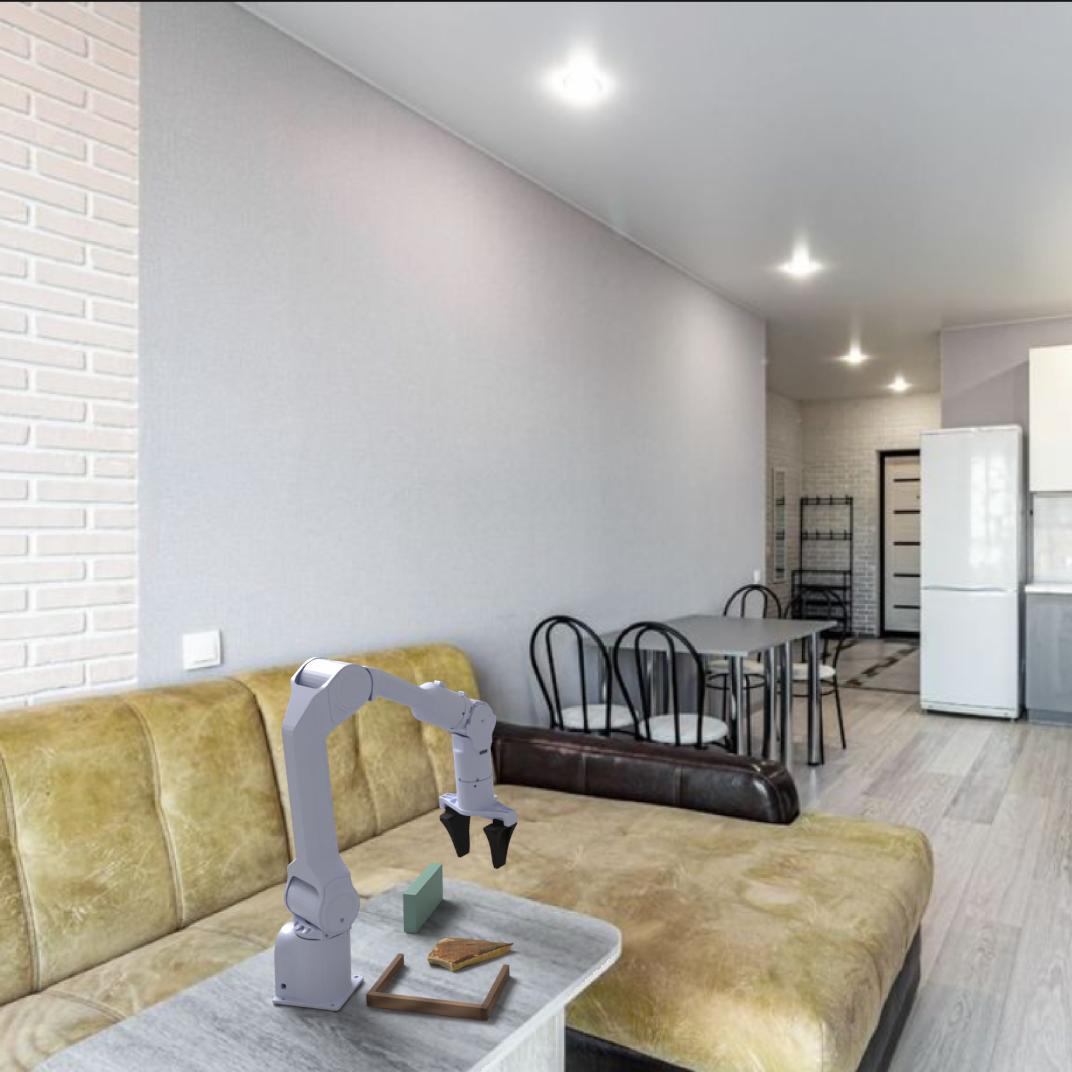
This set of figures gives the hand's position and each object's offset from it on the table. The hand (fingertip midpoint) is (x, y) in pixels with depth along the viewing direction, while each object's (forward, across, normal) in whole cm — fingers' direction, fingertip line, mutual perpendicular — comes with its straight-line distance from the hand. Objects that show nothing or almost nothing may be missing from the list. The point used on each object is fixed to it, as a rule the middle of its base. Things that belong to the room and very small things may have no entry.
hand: (481, 860), depth 137 cm
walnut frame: (+8, -9, +19) cm, 22 cm away
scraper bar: (+9, +9, +5) cm, 14 cm away
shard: (+9, -4, +10) cm, 14 cm away
